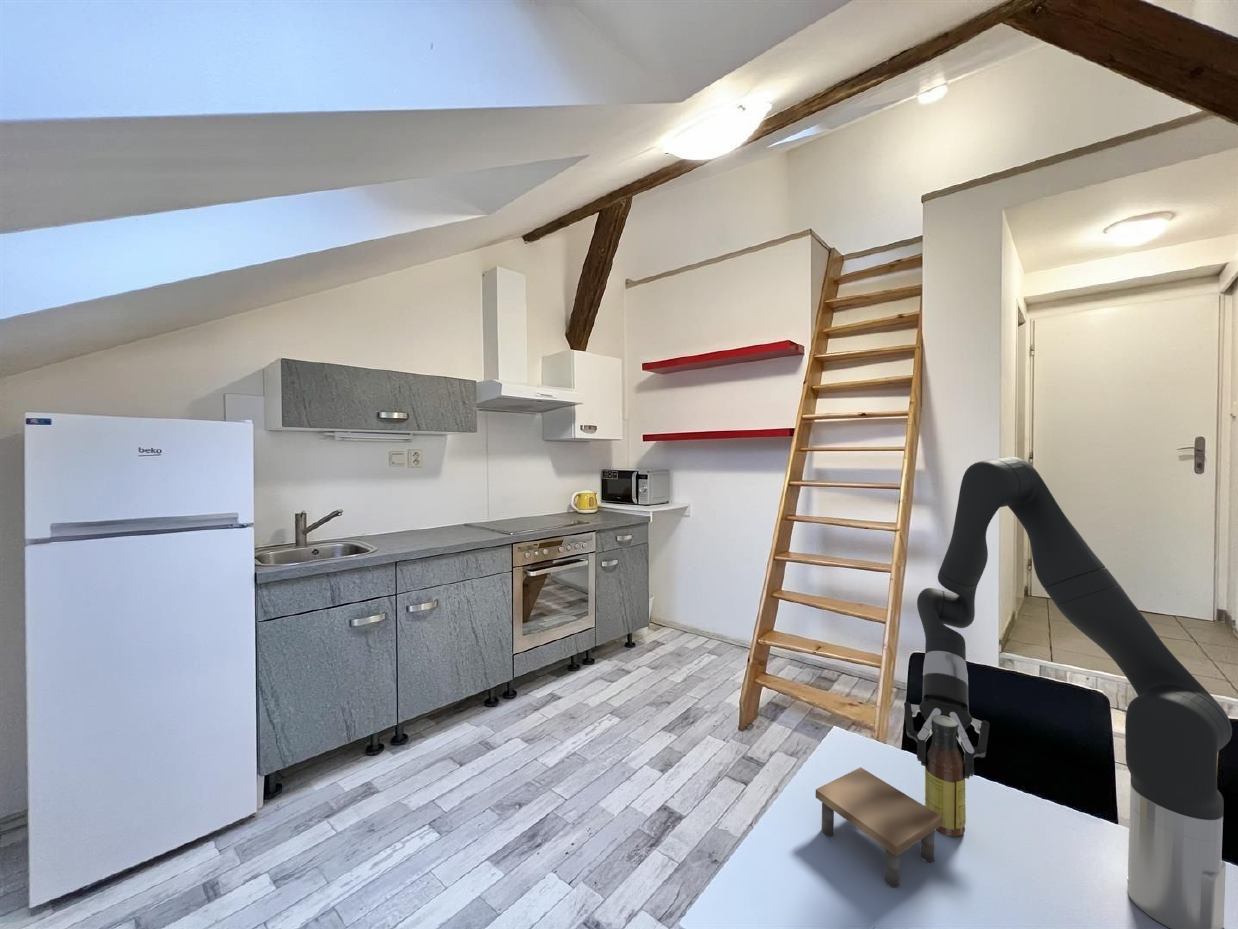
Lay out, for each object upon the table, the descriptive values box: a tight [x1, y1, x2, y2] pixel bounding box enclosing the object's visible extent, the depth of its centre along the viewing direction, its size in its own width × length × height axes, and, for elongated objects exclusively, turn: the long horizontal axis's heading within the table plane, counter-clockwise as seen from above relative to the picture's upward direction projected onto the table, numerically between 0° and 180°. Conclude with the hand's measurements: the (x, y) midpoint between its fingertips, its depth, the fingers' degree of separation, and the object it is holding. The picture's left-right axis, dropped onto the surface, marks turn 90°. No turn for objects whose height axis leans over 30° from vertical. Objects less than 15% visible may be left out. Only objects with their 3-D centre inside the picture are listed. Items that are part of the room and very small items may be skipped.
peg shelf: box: [815, 766, 942, 889], centre depth 87 cm, size 15×13×8 cm
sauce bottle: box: [924, 715, 967, 838], centre depth 91 cm, size 6×6×20 cm
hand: (944, 770), depth 90 cm, fingers closed on sauce bottle, 6 cm apart
